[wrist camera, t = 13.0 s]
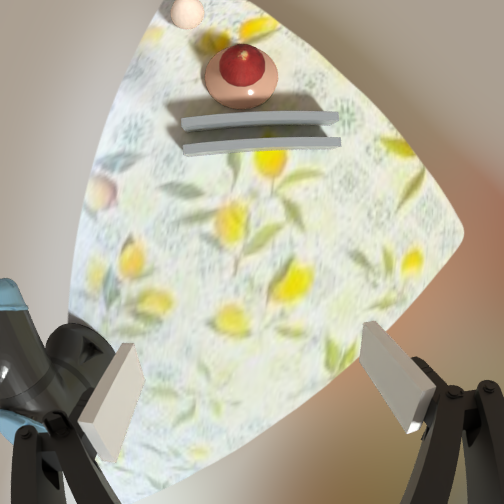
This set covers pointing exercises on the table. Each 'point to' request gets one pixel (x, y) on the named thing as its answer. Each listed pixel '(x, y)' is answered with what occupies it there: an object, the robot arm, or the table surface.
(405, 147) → the table surface
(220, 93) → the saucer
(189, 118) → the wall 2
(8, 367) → the robot arm
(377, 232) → the table surface
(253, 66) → the onion
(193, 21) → the egg
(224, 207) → the table surface
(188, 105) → the table surface
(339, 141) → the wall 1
